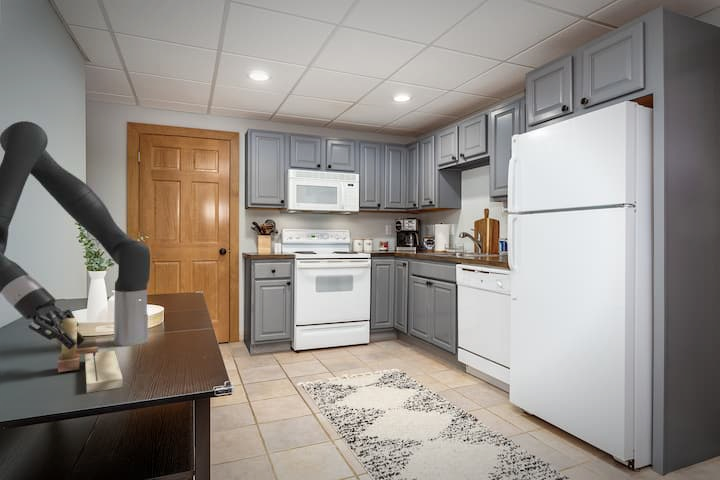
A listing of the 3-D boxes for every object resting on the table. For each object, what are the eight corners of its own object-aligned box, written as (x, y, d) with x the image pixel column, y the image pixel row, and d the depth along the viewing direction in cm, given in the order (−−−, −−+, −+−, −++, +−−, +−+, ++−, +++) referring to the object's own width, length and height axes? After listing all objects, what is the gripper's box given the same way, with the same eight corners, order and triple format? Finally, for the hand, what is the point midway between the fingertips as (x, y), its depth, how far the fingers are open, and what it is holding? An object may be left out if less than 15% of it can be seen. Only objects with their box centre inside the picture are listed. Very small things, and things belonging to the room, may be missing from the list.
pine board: (114, 357, 119) (114, 350, 119) (122, 387, 97) (122, 378, 97) (85, 361, 115) (85, 354, 115) (86, 392, 93) (86, 383, 93)
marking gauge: (97, 360, 114) (97, 315, 114) (98, 366, 109) (98, 319, 109) (58, 365, 109) (59, 317, 109) (58, 372, 104) (58, 322, 104)
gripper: (19, 290, 100) (71, 341, 101) (57, 283, 114) (103, 328, 115) (-5, 312, 100) (48, 363, 101) (36, 302, 114) (83, 347, 115)
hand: (77, 344), depth 108 cm, fingers closed on marking gauge, 3 cm apart
